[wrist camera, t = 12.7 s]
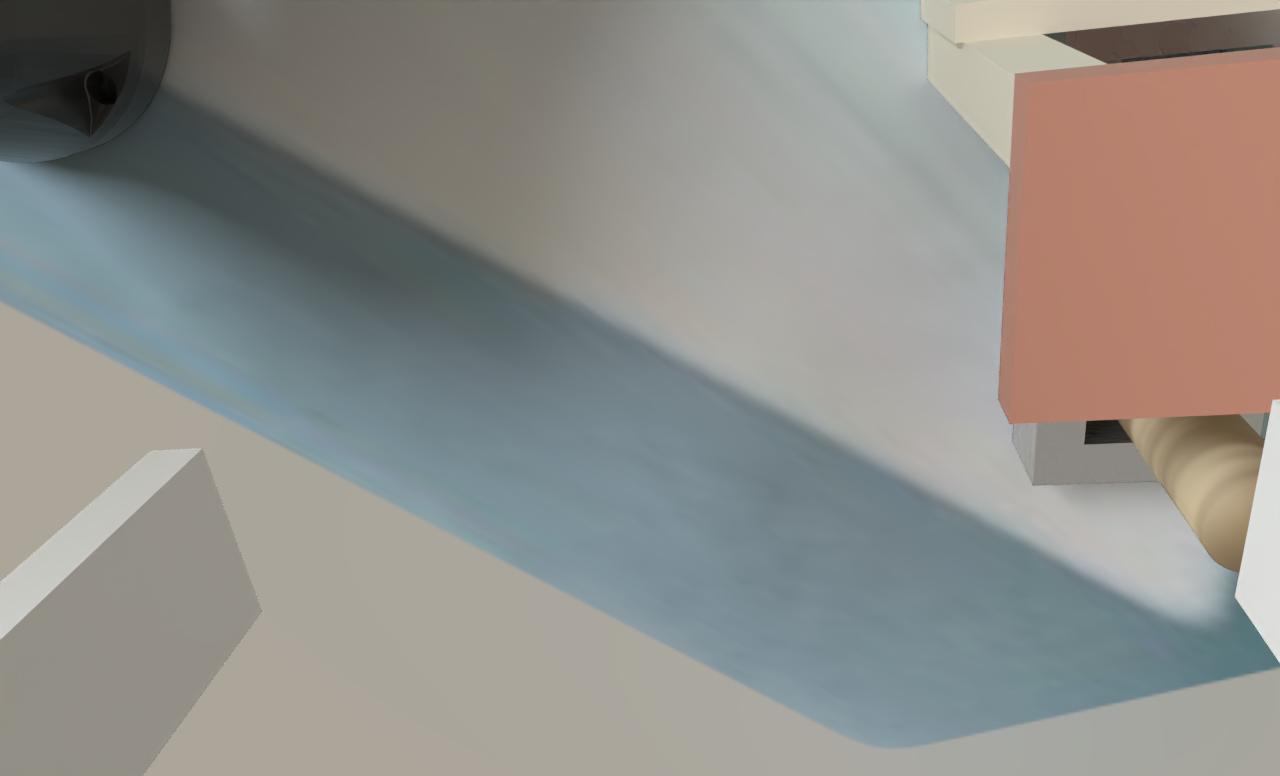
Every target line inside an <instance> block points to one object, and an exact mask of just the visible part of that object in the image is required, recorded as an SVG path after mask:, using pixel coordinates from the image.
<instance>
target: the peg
mask: <svg viewBox="0 0 1280 776" xmlns="http://www.w3.org/2000/svg"><path fill="white" fill-rule="evenodd" d="M1117 420H1118V421H1119V423H1120V424H1121V426H1122V427H1123V429H1124V430H1125V432H1126V433H1127V435H1128V436H1129V438H1130V439H1131V441H1132V442H1133V443H1134V445H1135V446H1136V448H1137V449H1138V451H1139V452H1140V454H1141V455H1142V457H1143V458H1144V460H1145V461H1146V463H1147V464H1148V466H1149V467H1150V468H1151V470H1152V471H1153V473H1154V474H1155V476H1156V477H1157V479H1158V480H1159V482H1160V483H1161V485H1162V486H1163V488H1164V489H1165V490H1166V492H1167V493H1168V495H1169V496H1170V498H1171V499H1172V501H1173V502H1174V504H1175V505H1176V507H1177V508H1178V510H1179V511H1180V512H1181V514H1182V515H1183V517H1184V518H1185V520H1186V521H1187V523H1188V524H1189V526H1190V527H1191V529H1192V530H1193V532H1194V533H1195V534H1196V536H1197V537H1198V539H1199V540H1200V542H1201V543H1202V545H1203V546H1204V548H1205V549H1206V551H1207V552H1208V554H1209V555H1210V556H1211V558H1212V559H1213V560H1214V561H1215V562H1217V563H1218V564H1219V565H1221V566H1223V567H1225V568H1227V569H1229V570H1232V571H1236V572H1240V567H1241V562H1242V557H1243V552H1244V547H1245V541H1246V536H1247V531H1248V526H1249V521H1250V515H1251V510H1252V505H1253V500H1254V495H1255V489H1256V484H1257V479H1258V474H1259V469H1260V463H1261V458H1262V453H1263V448H1264V443H1265V441H1264V440H1263V439H1262V438H1261V437H1260V436H1259V434H1258V433H1257V432H1256V431H1255V430H1254V429H1253V428H1252V427H1251V426H1250V425H1249V424H1248V423H1247V422H1246V421H1245V419H1244V418H1243V417H1242V416H1241V415H1240V414H1232V415H1209V416H1186V417H1163V418H1140V419H1117Z"/></svg>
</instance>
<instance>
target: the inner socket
mask: <svg viewBox="0 0 1280 776" xmlns="http://www.w3.org/2000/svg"><path fill="white" fill-rule="evenodd" d="M1043 35H1045V36H1047V37H1049V38H1051V39H1054V40H1056V41H1058V42H1060V43H1062V44H1065V45H1067V46H1069V47H1071V48H1073V49H1076V50H1078V51H1080V52H1082V53H1084V54H1087V55H1089V56H1091V57H1093V58H1095V59H1098V60H1100V61H1102V62H1104V63H1106V64H1115V63H1121V62H1122V59H1131V58H1141V57H1151V56H1161V55H1171V54H1181V53H1191V52H1201V51H1211V50H1221V49H1223V50H1222V53H1225V52H1235V51H1245V50H1255V49H1265V48H1275V47H1280V9H1276V10H1266V11H1257V12H1247V13H1238V14H1228V15H1219V16H1209V17H1200V18H1191V19H1181V20H1172V21H1162V22H1153V23H1143V24H1134V25H1124V26H1115V27H1106V28H1096V29H1087V30H1077V31H1068V32H1058V33H1049V34H1043Z"/></svg>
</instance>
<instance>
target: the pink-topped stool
mask: <svg viewBox="0 0 1280 776" xmlns="http://www.w3.org/2000/svg"><path fill="white" fill-rule="evenodd" d="M1276 9H1280V0H921V10H920V19H921V20H923V21H924V22H926V23H927V24H928V68H927V80H928V81H929V82H930V83H931V84H932V85H933V86H934V88H935V89H936V90H937V91H938V92H939V93H940V94H941V95H942V96H943V97H944V98H945V99H946V100H947V102H948V103H949V104H950V105H951V106H952V107H953V108H954V109H955V110H956V111H957V112H958V113H959V114H960V115H961V117H962V118H963V119H964V120H965V121H966V122H967V123H968V124H969V125H970V126H971V127H972V128H973V129H974V131H975V132H976V133H977V134H978V135H979V136H980V137H981V138H982V139H983V140H984V141H985V142H986V143H987V145H988V146H989V147H990V148H991V149H992V150H993V151H994V152H995V153H996V154H997V155H998V156H999V157H1000V159H1001V160H1002V161H1003V162H1004V163H1005V164H1006V165H1007V166H1008V167H1009V168H1010V177H1009V196H1008V216H1007V235H1006V255H1005V274H1004V294H1003V313H1002V333H1001V352H1000V371H999V391H998V400H999V402H1000V404H1001V406H1002V409H1003V411H1004V413H1005V415H1006V417H1007V419H1008V421H1009V424H1025V423H1048V422H1071V421H1094V420H1117V419H1140V418H1163V417H1186V416H1209V415H1232V414H1255V413H1270V411H1271V406H1272V401H1273V400H1278V399H1280V47H1275V48H1265V49H1255V50H1245V51H1235V52H1225V53H1215V54H1205V55H1195V56H1185V57H1175V58H1165V59H1155V60H1145V61H1135V62H1125V63H1115V64H1106V63H1104V62H1102V61H1100V60H1098V59H1095V58H1093V57H1091V56H1089V55H1087V54H1084V53H1082V52H1080V51H1078V50H1076V49H1073V48H1071V47H1069V46H1067V45H1065V44H1062V43H1060V42H1058V41H1056V40H1054V39H1051V38H1049V37H1047V36H1045V35H1043V34H1049V33H1058V32H1068V31H1077V30H1087V29H1096V28H1106V27H1115V26H1124V25H1134V24H1143V23H1153V22H1162V21H1172V20H1181V19H1191V18H1200V17H1209V16H1219V15H1228V14H1238V13H1247V12H1257V11H1266V10H1276Z"/></svg>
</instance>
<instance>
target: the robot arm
mask: <svg viewBox="0 0 1280 776" xmlns="http://www.w3.org/2000/svg"><path fill="white" fill-rule="evenodd" d="M169 42H170V8H169V0H0V161H6V162H20V163H28V162H42V161H49V160H55V159H59V158H63V157H67V156H70V155H73V154H76V153H78V152H81V151H84V150H87V149H90V148H93V147H96V146H99V145H101V144H103V143H106V142H108V141H110V140H111V139H113V138H115V137H117V136H118V135H120V134H121V133H122V132H124V131H125V130H126V129H128V128H129V127H130V126H131V125H132V124H133V123H134V122H135V121H136V120H137V119H138V118H139V117H140V116H141V114H142V113H143V112H144V111H145V109H146V108H147V106H148V105H149V103H150V102H151V100H152V98H153V97H154V95H155V93H156V91H157V89H158V86H159V84H160V81H161V79H162V76H163V72H164V69H165V65H166V61H167V56H168V49H169ZM1235 598H1236V599H1237V601H1238V602H1239V604H1240V605H1241V607H1242V608H1243V609H1244V611H1245V612H1246V614H1247V615H1248V617H1249V618H1250V620H1251V621H1252V623H1253V624H1254V626H1255V627H1256V629H1257V630H1258V632H1259V633H1260V635H1261V636H1262V637H1263V639H1264V640H1265V642H1266V643H1267V645H1268V646H1269V648H1270V649H1271V651H1272V652H1273V654H1274V655H1275V657H1276V658H1277V660H1278V661H1279V663H1280V399H1278V400H1273V401H1272V406H1271V411H1270V417H1269V422H1268V427H1267V432H1266V437H1265V443H1264V448H1263V453H1262V458H1261V463H1260V469H1259V474H1258V479H1257V484H1256V489H1255V495H1254V500H1253V505H1252V510H1251V515H1250V521H1249V526H1248V531H1247V536H1246V541H1245V547H1244V552H1243V557H1242V562H1241V567H1240V573H1239V578H1238V583H1237V588H1236V593H1235ZM261 612H262V610H261V607H260V604H259V602H258V599H257V596H256V593H255V591H254V588H253V585H252V582H251V580H250V577H249V574H248V572H247V569H246V566H245V563H244V561H243V558H242V555H241V552H240V550H239V547H238V544H237V542H236V539H235V536H234V533H233V531H232V528H231V525H230V522H229V520H228V517H227V514H226V512H225V509H224V506H223V503H222V500H221V498H220V495H219V492H218V490H217V487H216V484H215V481H214V479H213V476H212V473H211V470H210V468H209V465H208V462H207V459H206V457H205V454H204V451H203V449H202V448H200V449H177V450H156V451H150V452H149V453H148V454H146V455H145V456H144V457H143V458H142V459H141V460H140V461H138V462H137V463H136V464H135V465H134V466H133V467H132V468H130V469H129V470H128V471H127V472H126V473H125V474H124V475H122V476H121V477H120V478H119V479H118V480H117V481H116V482H114V483H113V484H112V485H111V486H110V487H109V488H107V490H105V491H104V492H103V493H102V494H101V495H100V496H98V497H97V498H96V499H95V500H94V501H93V502H92V503H90V504H89V505H88V506H87V507H86V508H85V509H83V510H82V511H81V512H80V513H79V514H78V515H77V516H75V517H74V518H73V519H72V520H71V521H70V522H68V523H67V524H66V525H65V526H64V527H63V528H62V529H60V530H59V531H58V532H57V533H56V534H55V535H54V536H52V537H51V538H50V539H49V540H48V541H47V542H46V543H44V544H43V545H42V546H41V547H40V548H39V549H38V550H36V551H35V552H34V553H33V554H32V555H31V556H29V557H28V558H27V559H26V560H25V561H24V562H23V563H22V564H21V565H19V566H18V567H17V568H16V569H15V570H13V571H12V572H11V573H10V574H9V575H8V576H7V577H6V578H4V579H3V580H2V581H1V582H0V776H143V775H144V773H145V772H146V771H147V769H148V767H149V766H150V765H151V764H152V762H153V761H154V760H155V758H156V757H157V755H158V754H159V753H160V751H161V750H162V749H163V747H164V746H165V744H166V743H167V742H168V740H169V739H170V738H171V736H172V735H173V733H174V732H175V730H176V729H177V728H178V726H179V725H180V724H181V722H182V721H183V719H184V718H185V717H186V715H187V714H188V713H189V711H190V710H191V709H192V707H193V706H194V704H195V703H196V702H197V700H198V699H199V698H200V696H201V695H202V693H203V692H204V691H205V689H206V688H207V686H208V685H209V684H210V682H211V681H212V680H213V678H214V677H215V675H216V674H217V673H218V671H219V670H220V669H221V667H222V666H223V664H224V663H225V662H226V660H227V659H228V658H229V656H230V655H231V653H232V652H233V651H234V649H235V648H236V646H237V645H238V643H239V642H240V641H241V640H242V638H243V637H244V635H245V634H246V633H247V631H248V630H249V629H250V627H251V626H252V624H253V623H254V622H255V620H256V619H257V618H258V616H259V615H260V613H261Z"/></svg>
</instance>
